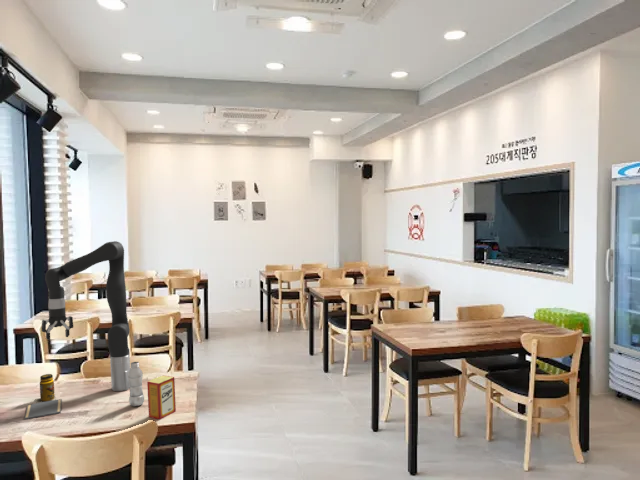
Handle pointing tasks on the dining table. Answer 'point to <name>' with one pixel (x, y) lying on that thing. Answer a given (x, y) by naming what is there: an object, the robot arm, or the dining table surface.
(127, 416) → the dining table surface
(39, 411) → the mat
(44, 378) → the condiment
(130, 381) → the plastic bottle
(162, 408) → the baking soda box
